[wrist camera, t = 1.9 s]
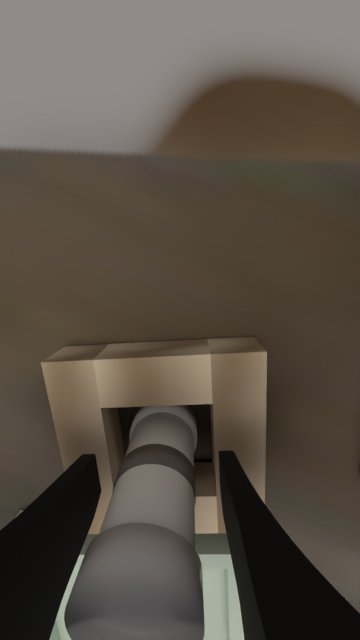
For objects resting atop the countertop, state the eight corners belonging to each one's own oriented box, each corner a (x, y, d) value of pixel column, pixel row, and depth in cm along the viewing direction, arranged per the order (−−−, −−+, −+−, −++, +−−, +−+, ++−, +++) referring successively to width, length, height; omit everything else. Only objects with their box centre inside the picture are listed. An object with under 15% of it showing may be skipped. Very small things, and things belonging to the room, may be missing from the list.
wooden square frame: (253, 336, 13) (266, 351, 10) (253, 494, 15) (264, 532, 13) (65, 346, 13) (40, 362, 11) (92, 496, 15) (77, 534, 13)
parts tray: (237, 507, 15) (246, 554, 13) (240, 656, 18) (247, 717, 16) (20, 510, 16) (-11, 554, 13) (59, 652, 19) (39, 709, 17)
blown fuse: (195, 394, 13) (201, 574, 6) (198, 450, 14) (207, 674, 7) (130, 397, 14) (51, 575, 6) (137, 451, 15) (76, 670, 7)
